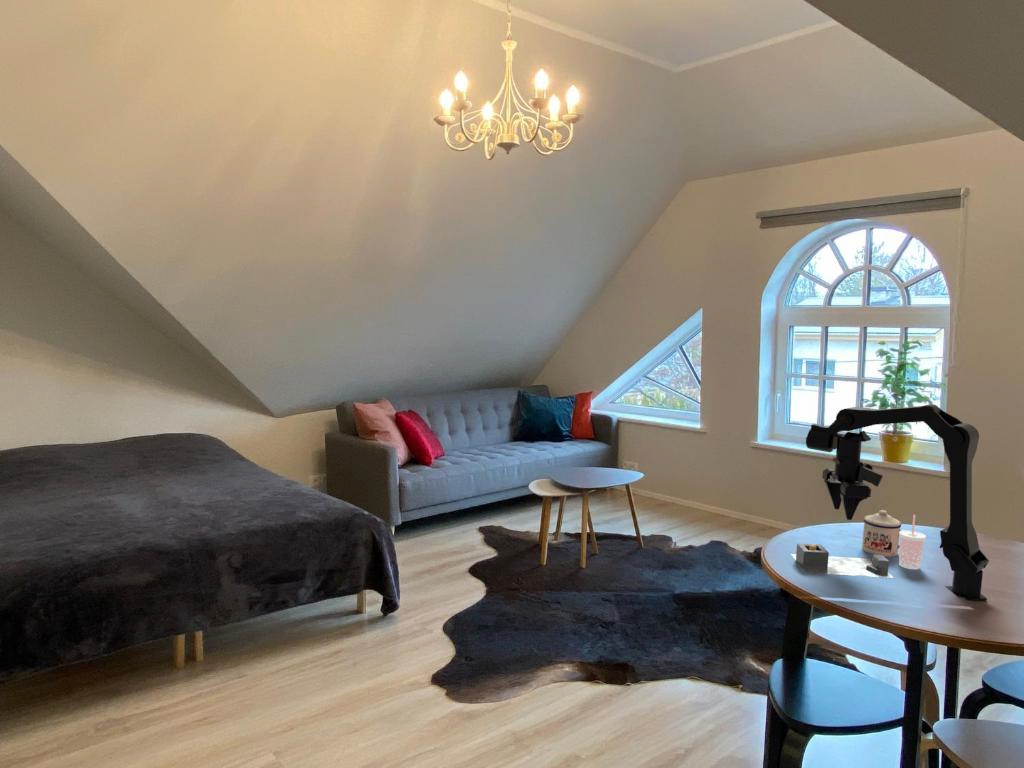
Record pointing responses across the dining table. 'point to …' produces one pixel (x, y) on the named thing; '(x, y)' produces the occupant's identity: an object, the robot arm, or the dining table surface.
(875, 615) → the dining table surface
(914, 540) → the beverage cup
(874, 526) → the teacup with lid
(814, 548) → the post
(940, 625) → the dining table surface
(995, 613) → the dining table surface
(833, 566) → the tie plate
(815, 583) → the dining table surface
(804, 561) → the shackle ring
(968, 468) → the robot arm
